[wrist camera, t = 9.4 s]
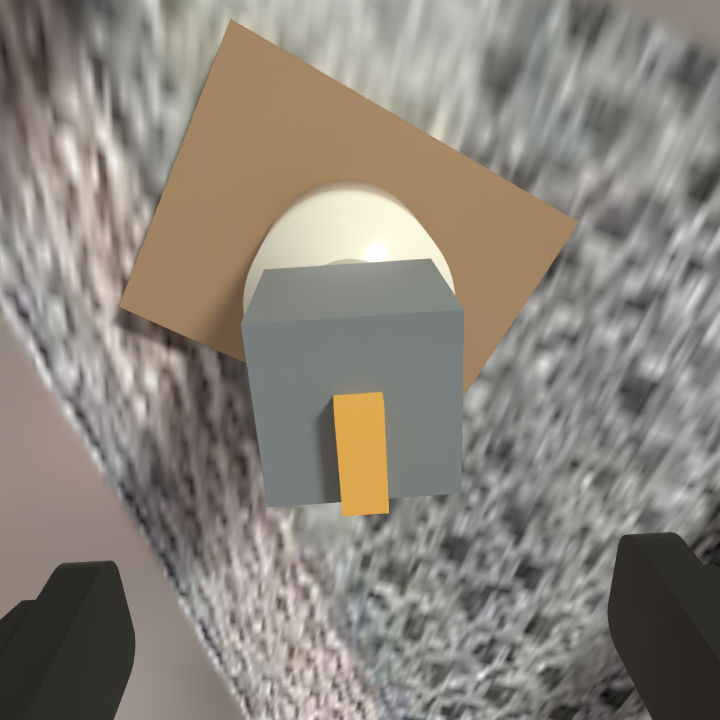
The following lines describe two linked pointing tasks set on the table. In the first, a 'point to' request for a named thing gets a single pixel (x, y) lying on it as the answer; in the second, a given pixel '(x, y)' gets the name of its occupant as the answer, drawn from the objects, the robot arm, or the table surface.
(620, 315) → the table surface
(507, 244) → the board with white bottle
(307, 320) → the grey cube with tab
